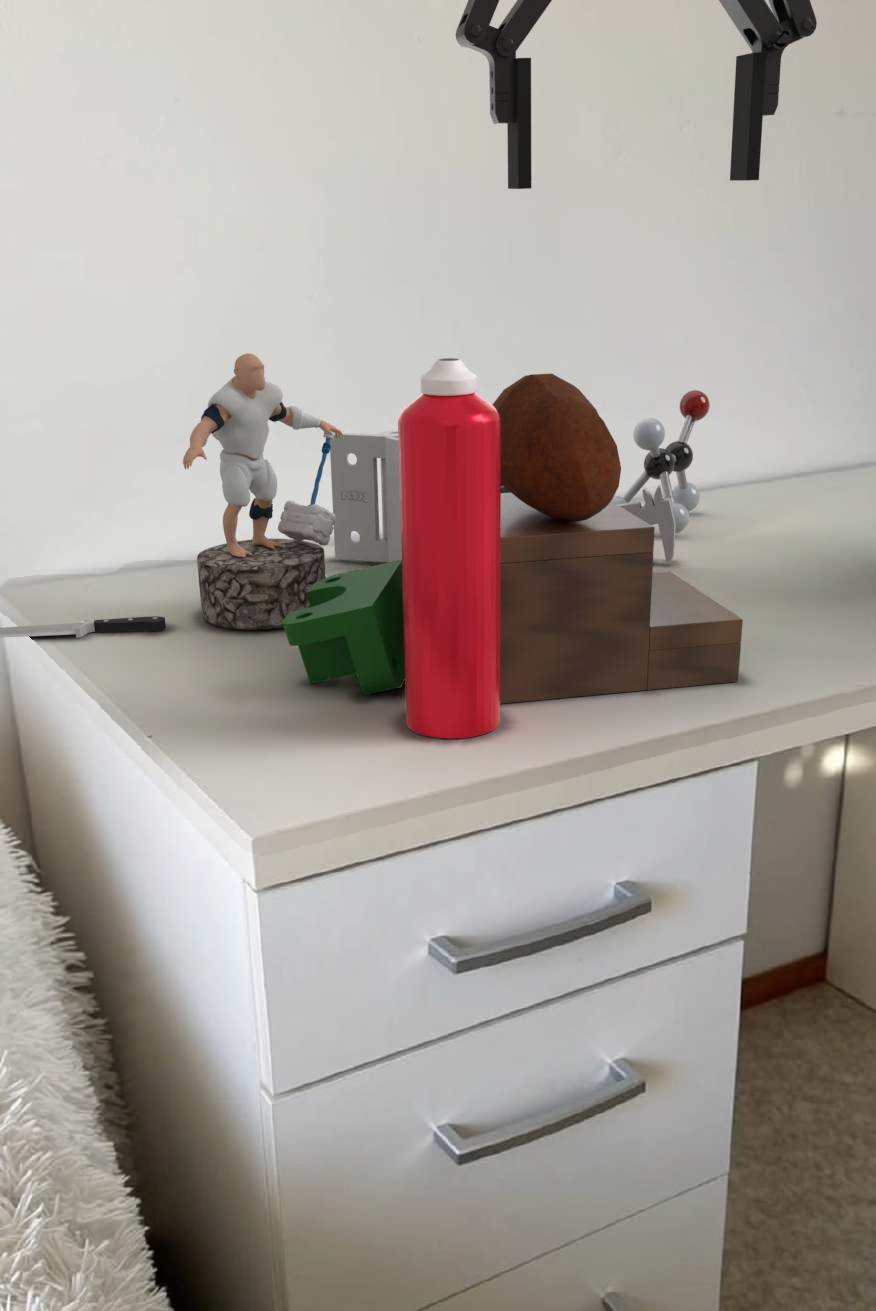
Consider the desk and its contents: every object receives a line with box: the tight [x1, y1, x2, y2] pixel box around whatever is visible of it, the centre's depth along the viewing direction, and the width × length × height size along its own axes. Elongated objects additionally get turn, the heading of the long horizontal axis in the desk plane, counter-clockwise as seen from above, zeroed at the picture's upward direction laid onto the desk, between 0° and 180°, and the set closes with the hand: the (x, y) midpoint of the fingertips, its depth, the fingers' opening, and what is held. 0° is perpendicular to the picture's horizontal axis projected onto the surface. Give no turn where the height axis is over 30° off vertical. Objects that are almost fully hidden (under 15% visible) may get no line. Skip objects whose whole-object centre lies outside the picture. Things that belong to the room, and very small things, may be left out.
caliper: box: [618, 484, 676, 563], centre depth 115 cm, size 20×1×6 cm, turn 76°
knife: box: [0, 615, 167, 639], centre depth 99 cm, size 15×1×2 cm
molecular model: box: [612, 389, 711, 535], centre depth 126 cm, size 8×12×11 cm
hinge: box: [329, 429, 402, 563], centre depth 112 cm, size 14×5×10 cm, turn 46°
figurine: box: [182, 352, 343, 630], centre depth 99 cm, size 15×9×18 cm, turn 141°
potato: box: [491, 373, 622, 522], centre depth 85 cm, size 8×12×8 cm, turn 20°
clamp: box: [282, 559, 405, 695], centre depth 90 cm, size 12×6×9 cm, turn 166°
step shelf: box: [500, 493, 744, 705], centre depth 89 cm, size 16×12×10 cm
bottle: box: [397, 357, 501, 739], centre depth 78 cm, size 6×5×20 cm
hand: (633, 184), depth 83 cm, fingers open, 13 cm apart
